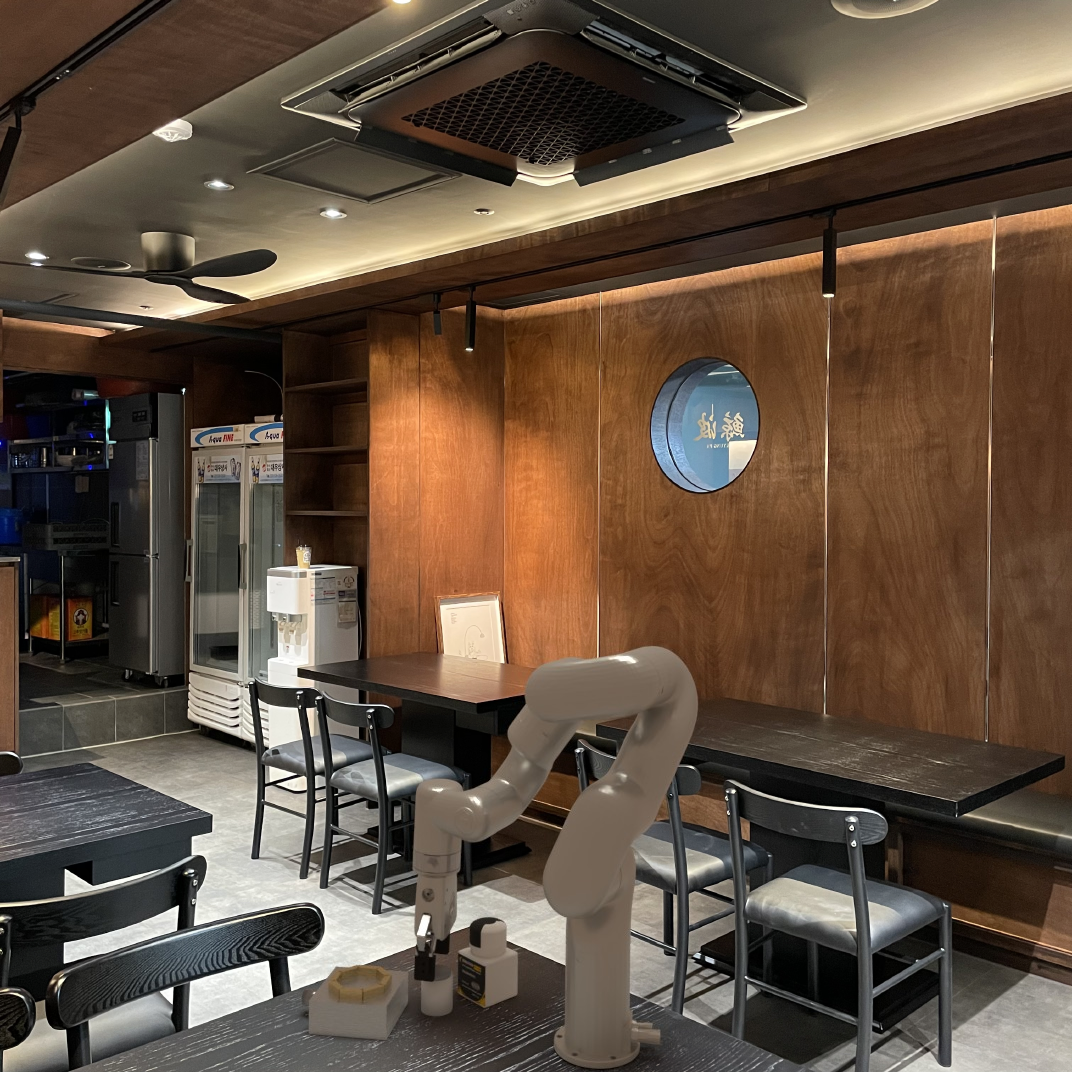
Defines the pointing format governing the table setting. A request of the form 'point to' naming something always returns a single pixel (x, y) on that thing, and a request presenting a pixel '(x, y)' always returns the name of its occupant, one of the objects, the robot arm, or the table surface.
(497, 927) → the medicine bottle
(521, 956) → the table surface
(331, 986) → the block
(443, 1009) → the short grey cylinder
